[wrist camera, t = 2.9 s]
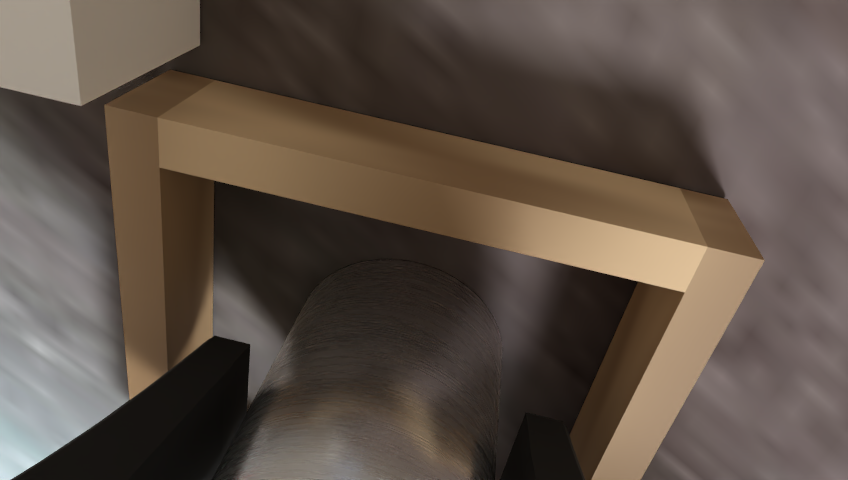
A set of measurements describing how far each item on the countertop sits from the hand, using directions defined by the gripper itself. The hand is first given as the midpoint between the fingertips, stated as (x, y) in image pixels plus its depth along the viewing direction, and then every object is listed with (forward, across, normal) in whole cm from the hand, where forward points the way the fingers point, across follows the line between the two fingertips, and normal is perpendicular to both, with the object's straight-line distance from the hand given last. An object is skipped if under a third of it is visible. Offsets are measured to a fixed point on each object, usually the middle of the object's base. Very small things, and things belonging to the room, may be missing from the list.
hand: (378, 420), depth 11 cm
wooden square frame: (+2, 0, 0) cm, 2 cm away
